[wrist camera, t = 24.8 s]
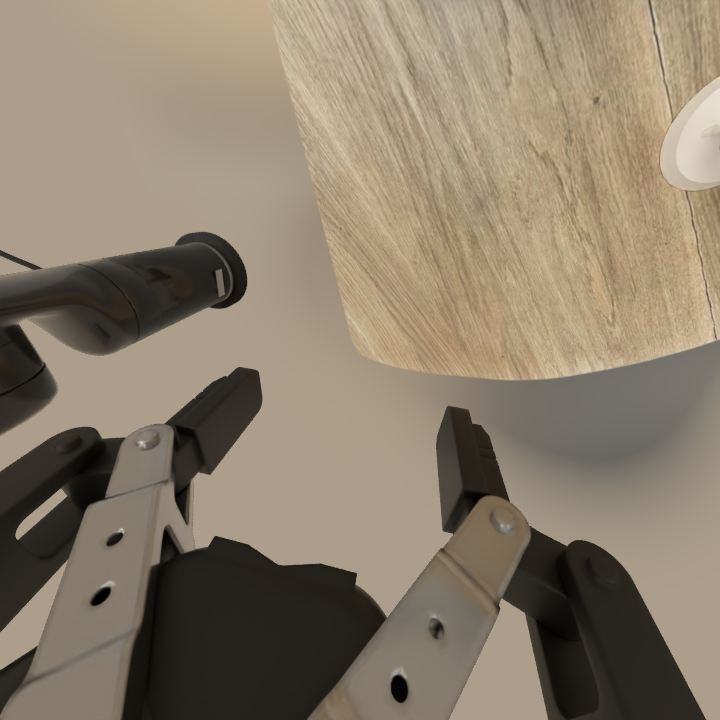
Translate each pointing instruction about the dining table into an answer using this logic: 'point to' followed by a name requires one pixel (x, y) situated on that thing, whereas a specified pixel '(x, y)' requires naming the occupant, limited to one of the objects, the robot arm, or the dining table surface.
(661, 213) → the dining table surface
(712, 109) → the figurine
